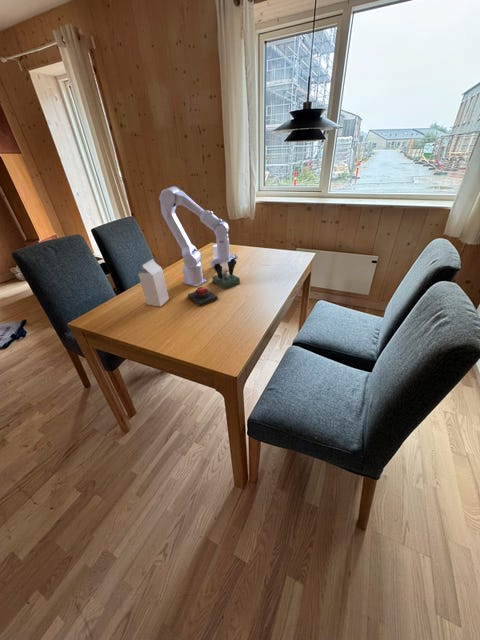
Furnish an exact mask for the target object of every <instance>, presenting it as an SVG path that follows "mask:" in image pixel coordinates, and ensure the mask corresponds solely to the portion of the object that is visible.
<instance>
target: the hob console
mask: <svg viewBox="0 0 480 640" xmlns="http://www.w3.org/2000/svg"><path fill="white" fill-rule="evenodd" d="M229 276H230V278H228V279H226V278H224V277H222V279H220V278H218V275H217V274H215V275H212V279H211V280H212V282H213V283H214V284H215V285H218V286H219V287H221V288H222V289H224V290H226V289H229V288H232V287H234V286H237V285H240V284H241V279H240V277H238V276H236V275H234V274H233V275H230V274H229Z"/></svg>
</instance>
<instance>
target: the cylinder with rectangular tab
mask: <svg viewBox="0 0 480 640" xmlns="http://www.w3.org/2000/svg"><path fill="white" fill-rule="evenodd" d="M211 249H212V261H213V260H215V259H217V258H218V252H217V244H213V245H212V246H211ZM220 266H222V269H226V270H229V268H228V263H227V262H224V263H221V264H220Z"/></svg>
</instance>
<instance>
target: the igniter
mask: <svg viewBox="0 0 480 640" xmlns="http://www.w3.org/2000/svg"><path fill="white" fill-rule="evenodd" d="M205 290H206V293H204V294H198V291H197V289H196V290H194V291H193V292H190V293H187V298H188V299H189V300H191V301H192V302H194V303H195V304H196V305H198V306H199V307H203V306H205V305H207V304H210V303H213V302H215V301H218V295H215V293H213V292H211V291H210V289H208V288H205Z"/></svg>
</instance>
